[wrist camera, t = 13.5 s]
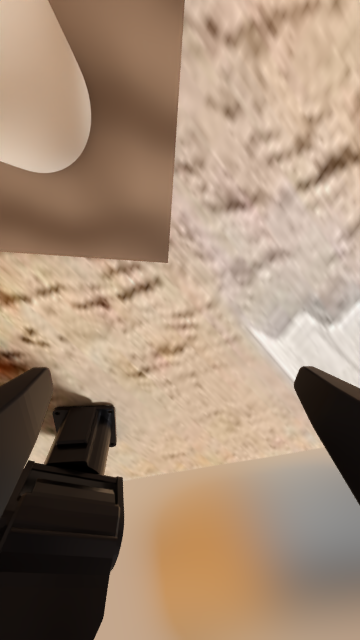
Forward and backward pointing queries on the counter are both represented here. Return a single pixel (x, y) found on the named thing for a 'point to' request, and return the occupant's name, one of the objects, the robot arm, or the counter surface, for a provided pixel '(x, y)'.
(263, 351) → the counter surface
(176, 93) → the base
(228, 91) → the counter surface
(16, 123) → the can
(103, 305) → the counter surface
